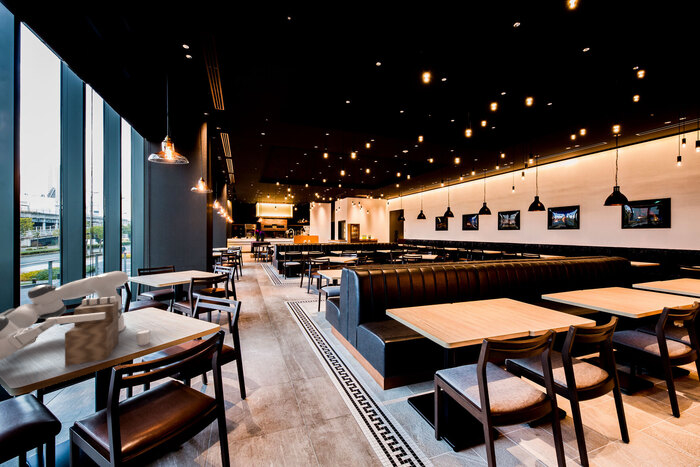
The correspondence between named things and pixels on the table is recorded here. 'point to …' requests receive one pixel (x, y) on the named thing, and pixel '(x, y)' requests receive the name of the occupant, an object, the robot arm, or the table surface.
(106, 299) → the striped bar
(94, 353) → the two-step stand
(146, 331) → the white rounded cube
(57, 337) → the table surface
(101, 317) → the plain bar
